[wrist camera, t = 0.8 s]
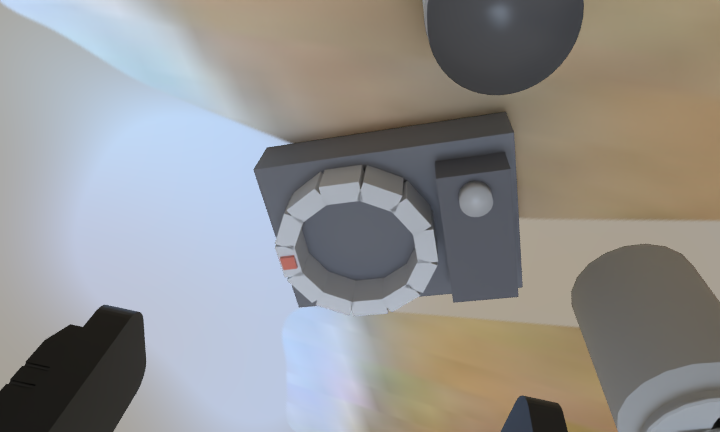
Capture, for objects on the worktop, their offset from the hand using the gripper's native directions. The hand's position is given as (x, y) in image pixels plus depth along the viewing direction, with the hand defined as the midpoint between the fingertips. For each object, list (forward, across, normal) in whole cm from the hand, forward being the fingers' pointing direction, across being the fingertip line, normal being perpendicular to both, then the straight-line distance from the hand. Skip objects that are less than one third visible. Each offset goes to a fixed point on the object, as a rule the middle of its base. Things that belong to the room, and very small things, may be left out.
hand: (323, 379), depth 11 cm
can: (+22, -18, +10) cm, 30 cm away
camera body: (+21, -2, +8) cm, 22 cm away
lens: (+21, -3, -6) cm, 22 cm away
